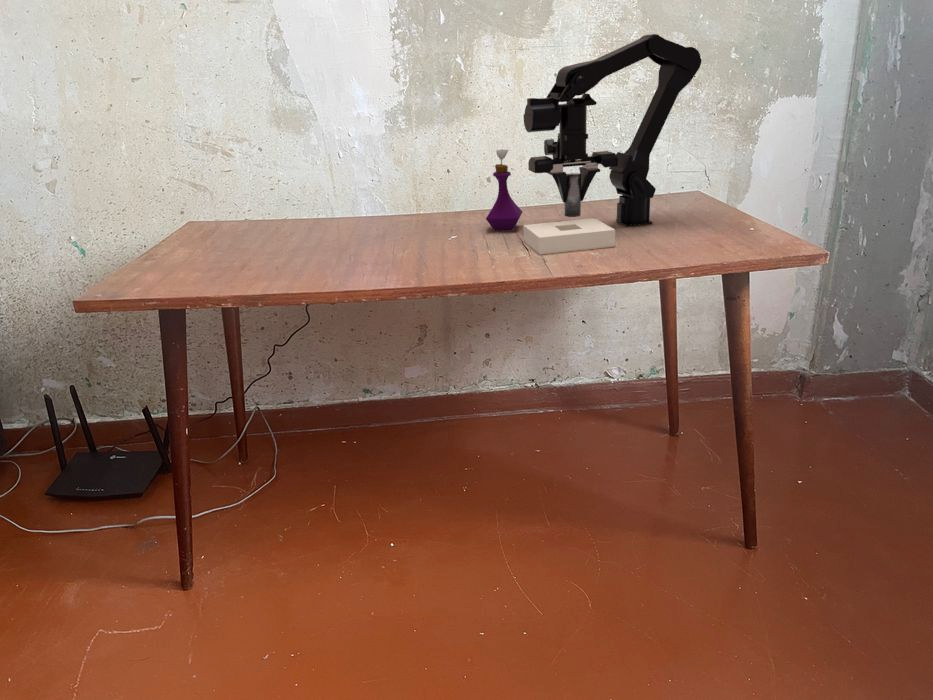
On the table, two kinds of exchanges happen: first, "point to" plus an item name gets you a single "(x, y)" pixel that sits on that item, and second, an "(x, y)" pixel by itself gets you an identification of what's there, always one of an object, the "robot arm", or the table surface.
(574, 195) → the pin
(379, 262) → the table surface
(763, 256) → the table surface
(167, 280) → the table surface
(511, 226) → the perfume bottle
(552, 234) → the socket board
